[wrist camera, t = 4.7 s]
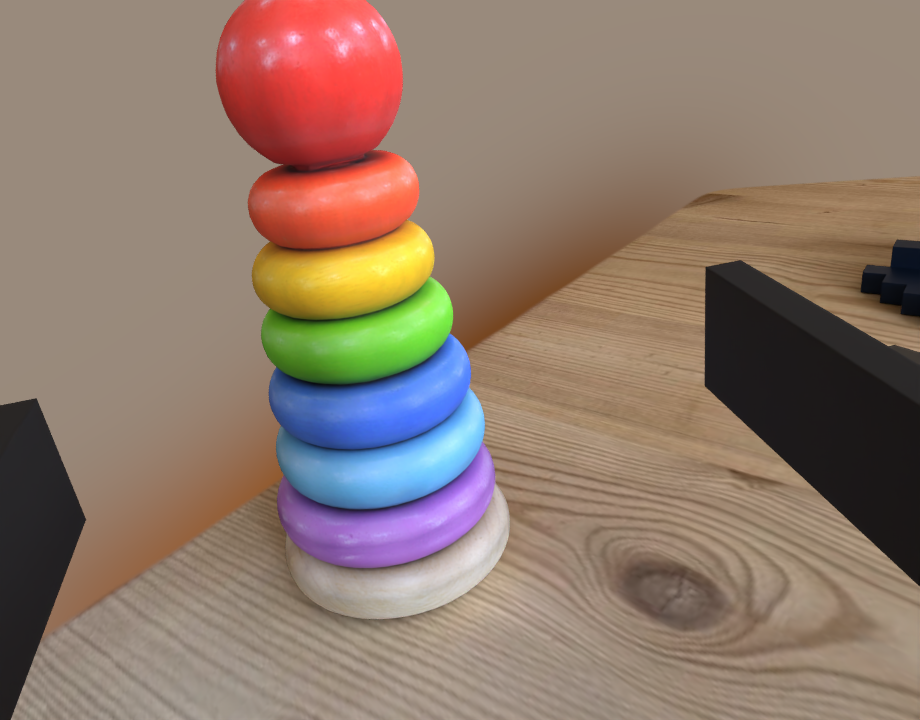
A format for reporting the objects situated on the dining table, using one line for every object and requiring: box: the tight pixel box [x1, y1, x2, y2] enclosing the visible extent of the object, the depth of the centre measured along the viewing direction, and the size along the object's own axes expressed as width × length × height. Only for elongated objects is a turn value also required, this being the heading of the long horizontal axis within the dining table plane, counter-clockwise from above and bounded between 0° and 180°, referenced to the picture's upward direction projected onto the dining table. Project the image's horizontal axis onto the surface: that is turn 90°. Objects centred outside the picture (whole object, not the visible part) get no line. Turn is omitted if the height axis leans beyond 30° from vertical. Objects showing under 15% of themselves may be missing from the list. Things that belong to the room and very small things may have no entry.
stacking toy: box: [216, 0, 510, 619], centre depth 25 cm, size 8×8×19 cm
